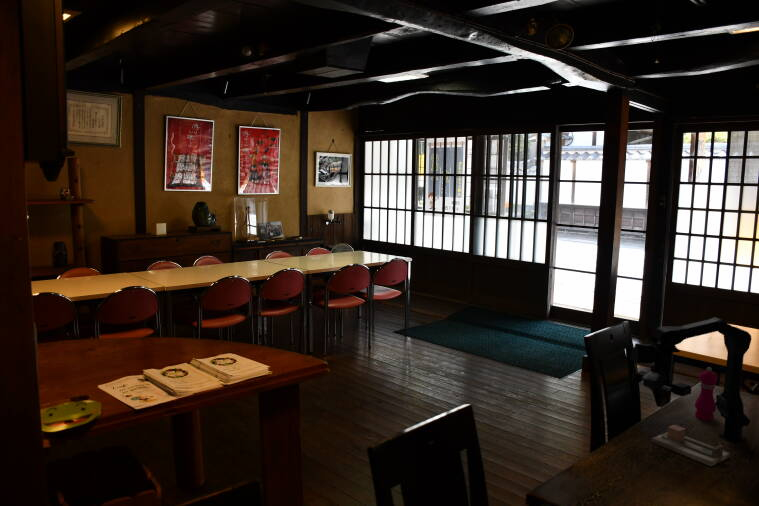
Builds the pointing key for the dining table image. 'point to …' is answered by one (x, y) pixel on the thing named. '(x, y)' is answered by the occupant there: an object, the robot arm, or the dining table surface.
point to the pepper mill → (706, 396)
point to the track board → (693, 449)
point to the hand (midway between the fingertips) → (658, 406)
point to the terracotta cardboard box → (676, 433)
